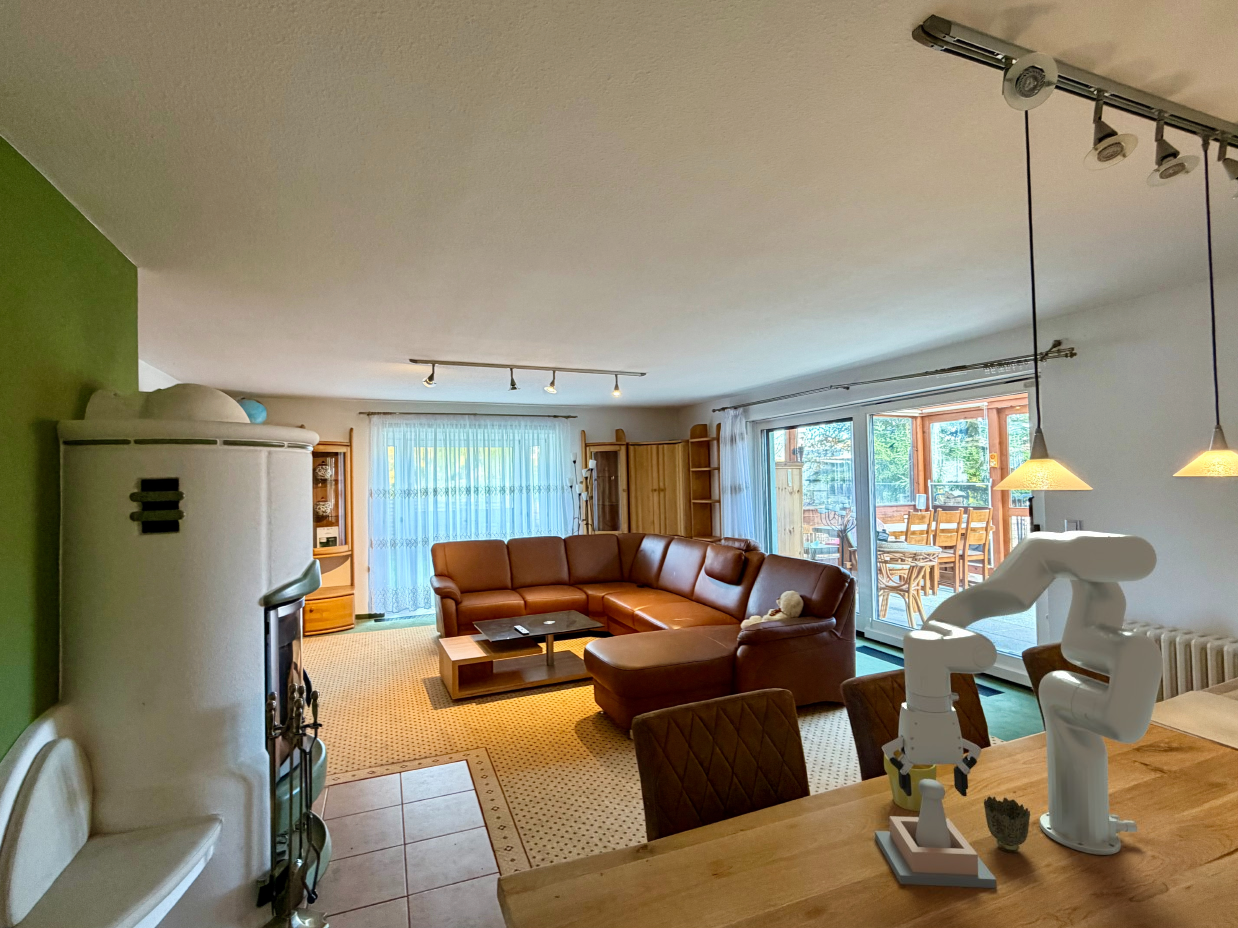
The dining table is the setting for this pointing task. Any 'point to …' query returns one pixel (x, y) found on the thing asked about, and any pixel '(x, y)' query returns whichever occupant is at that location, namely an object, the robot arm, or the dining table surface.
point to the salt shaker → (932, 816)
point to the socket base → (932, 857)
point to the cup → (1007, 822)
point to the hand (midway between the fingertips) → (933, 792)
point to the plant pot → (916, 775)
